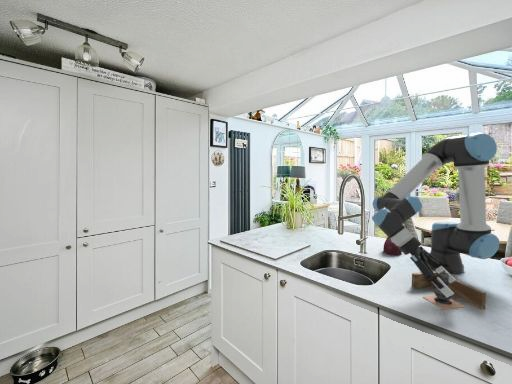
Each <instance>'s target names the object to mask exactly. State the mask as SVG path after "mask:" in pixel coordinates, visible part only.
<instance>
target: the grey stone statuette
mask: <svg viewBox="0 0 512 384" xmlns="http://www.w3.org/2000/svg"><path fill="white" fill-rule="evenodd" d="M439 278H440V279H441V280H442V281H443V282H444V283H445V284H446V286H447V287H448V288H449V284H450V283H449V275H448V274H447V273H446V272H445V270H444V271H443V272H440V273H439ZM433 292H434V295H436V296H437V297H436V298H434V300H435V301H436V302H438V303H441V304H445V305H450V304H452V302H451V301H450V300H449V299H452V298H453V295H451V296H449V297H446V296H445V295H444V294H443V293H442V292H441V291H440V290H439V289H438V288H437V287H435V288H434V289H433Z"/></svg>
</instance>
